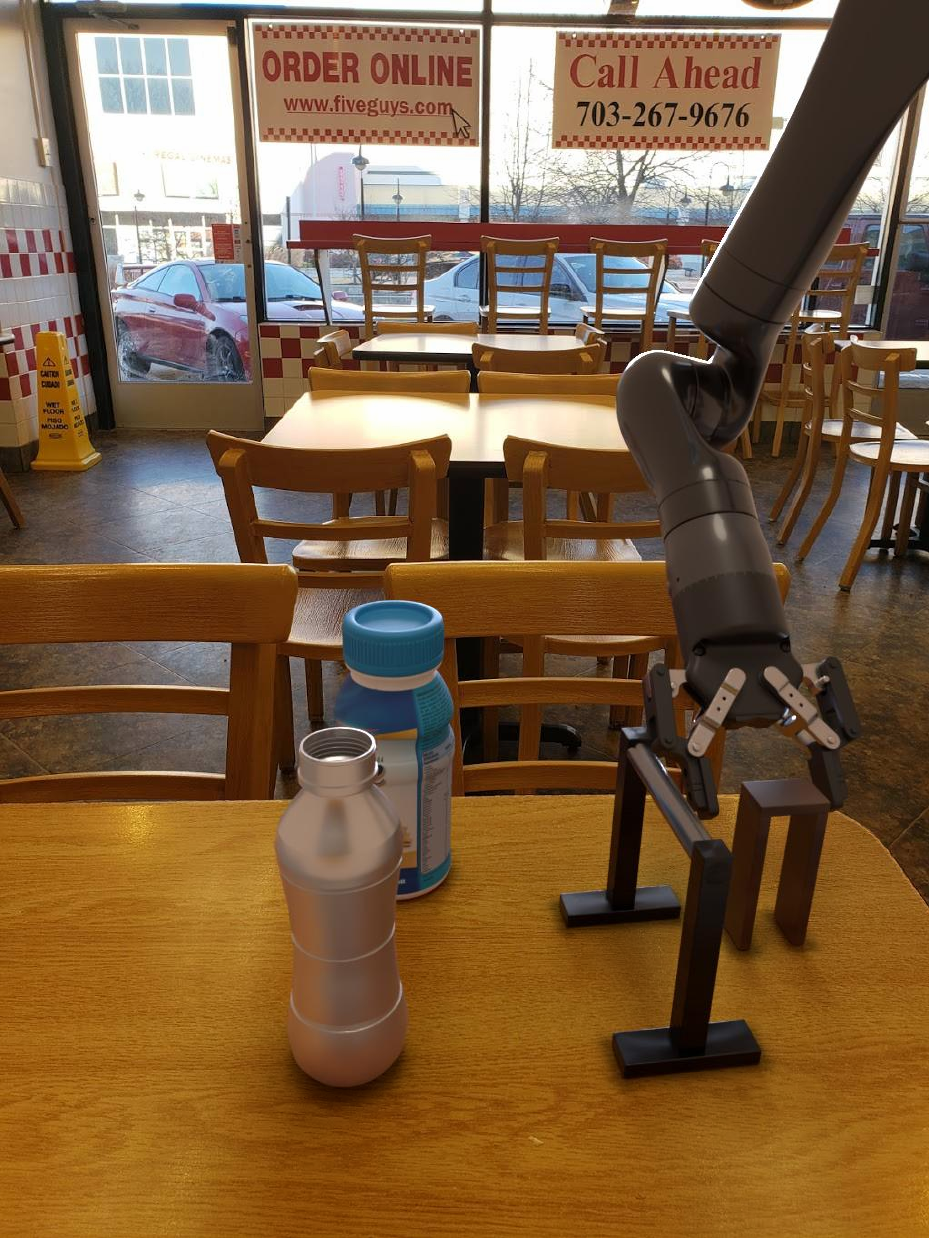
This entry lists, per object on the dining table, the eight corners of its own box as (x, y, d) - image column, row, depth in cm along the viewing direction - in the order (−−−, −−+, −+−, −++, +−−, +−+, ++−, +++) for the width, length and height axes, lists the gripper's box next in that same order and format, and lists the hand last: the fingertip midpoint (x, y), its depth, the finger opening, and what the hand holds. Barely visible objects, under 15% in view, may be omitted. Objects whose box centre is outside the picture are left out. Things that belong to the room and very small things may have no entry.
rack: (668, 896, 67) (689, 720, 62) (760, 1064, 53) (796, 856, 48) (558, 905, 66) (571, 727, 61) (623, 1079, 52) (646, 867, 47)
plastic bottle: (424, 1083, 51) (425, 763, 44) (302, 1121, 49) (282, 789, 42) (389, 1001, 57) (385, 705, 50) (277, 1031, 55) (256, 725, 47)
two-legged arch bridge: (783, 915, 65) (807, 777, 61) (804, 944, 62) (831, 802, 58) (720, 920, 65) (741, 781, 61) (739, 950, 62) (761, 807, 58)
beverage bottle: (472, 887, 67) (478, 628, 60) (360, 918, 64) (353, 648, 57) (425, 825, 74) (426, 588, 67) (322, 851, 71) (312, 603, 64)
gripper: (643, 570, 63) (687, 808, 57) (840, 564, 65) (903, 794, 59) (614, 615, 70) (650, 832, 64) (793, 609, 72) (845, 819, 66)
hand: (771, 814), depth 61 cm, fingers open, 8 cm apart
